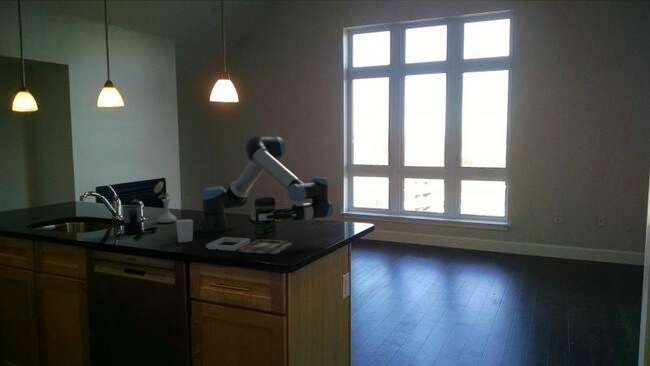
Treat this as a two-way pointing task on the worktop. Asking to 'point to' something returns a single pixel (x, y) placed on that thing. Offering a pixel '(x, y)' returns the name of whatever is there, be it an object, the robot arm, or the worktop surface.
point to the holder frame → (240, 244)
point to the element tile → (255, 219)
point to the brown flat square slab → (266, 246)
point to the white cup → (184, 230)
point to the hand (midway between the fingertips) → (255, 216)
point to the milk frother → (133, 220)
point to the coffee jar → (265, 227)
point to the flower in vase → (166, 216)
